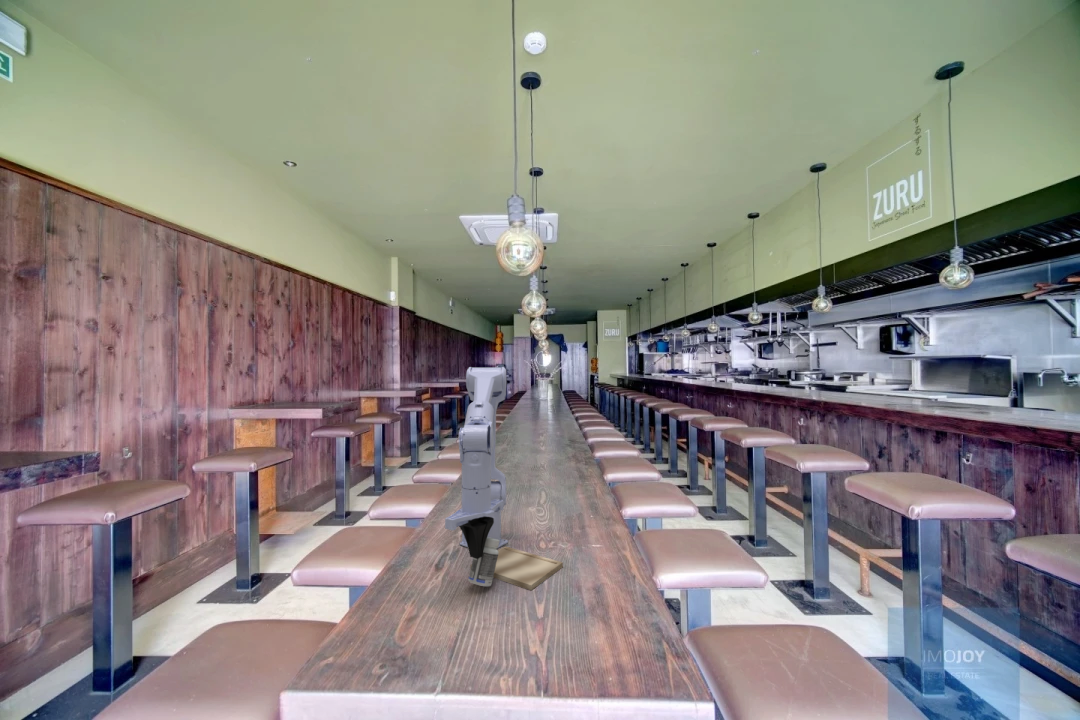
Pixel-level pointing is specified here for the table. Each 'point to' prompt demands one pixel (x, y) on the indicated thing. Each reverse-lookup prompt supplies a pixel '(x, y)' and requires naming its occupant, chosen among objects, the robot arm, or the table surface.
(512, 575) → the beech board
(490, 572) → the pill bottle
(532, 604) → the table surface
